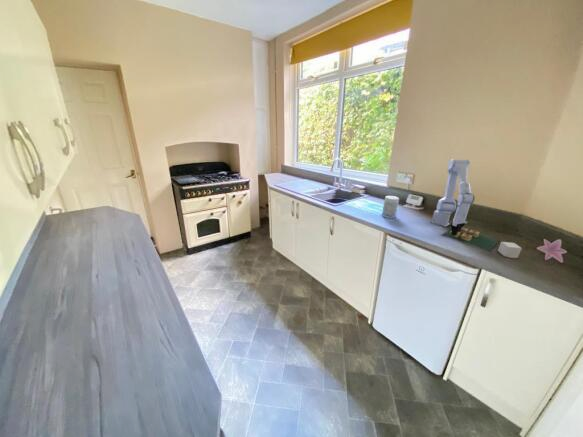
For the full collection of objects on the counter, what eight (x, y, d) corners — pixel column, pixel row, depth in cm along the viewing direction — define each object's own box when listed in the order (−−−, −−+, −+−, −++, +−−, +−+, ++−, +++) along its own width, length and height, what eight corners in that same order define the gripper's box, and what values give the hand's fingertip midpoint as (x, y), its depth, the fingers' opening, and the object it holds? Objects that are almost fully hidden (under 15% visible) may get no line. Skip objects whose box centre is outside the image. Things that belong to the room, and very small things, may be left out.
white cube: (509, 252, 127) (514, 242, 125) (517, 258, 122) (521, 248, 119) (497, 251, 128) (501, 241, 126) (504, 256, 123) (508, 246, 120)
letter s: (449, 235, 146) (450, 231, 145) (451, 233, 148) (453, 229, 147) (457, 237, 142) (458, 233, 141) (459, 235, 145) (461, 232, 144)
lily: (527, 256, 126) (541, 246, 118) (531, 242, 131) (546, 232, 124) (554, 270, 121) (571, 261, 113) (558, 255, 126) (574, 245, 119)
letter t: (467, 234, 146) (469, 231, 145) (470, 233, 149) (471, 229, 148) (476, 237, 143) (477, 233, 142) (478, 235, 146) (479, 232, 145)
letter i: (456, 231, 151) (458, 228, 150) (459, 230, 153) (460, 226, 152) (464, 234, 148) (466, 230, 147) (467, 232, 150) (468, 228, 149)
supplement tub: (382, 213, 181) (386, 194, 176) (395, 215, 177) (399, 196, 172) (381, 217, 173) (384, 198, 168) (394, 219, 169) (398, 200, 164)
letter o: (460, 238, 141) (461, 234, 140) (462, 236, 144) (464, 233, 143) (468, 241, 138) (470, 237, 137) (471, 239, 141) (472, 235, 140)
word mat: (441, 235, 145) (441, 235, 145) (453, 228, 157) (453, 227, 157) (489, 251, 128) (489, 250, 128) (498, 241, 140) (499, 240, 140)
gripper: (465, 217, 133) (458, 239, 138) (473, 212, 141) (466, 233, 146) (451, 214, 138) (444, 235, 143) (459, 209, 146) (453, 229, 151)
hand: (455, 233), depth 145 cm, fingers closed on letter s, 4 cm apart
